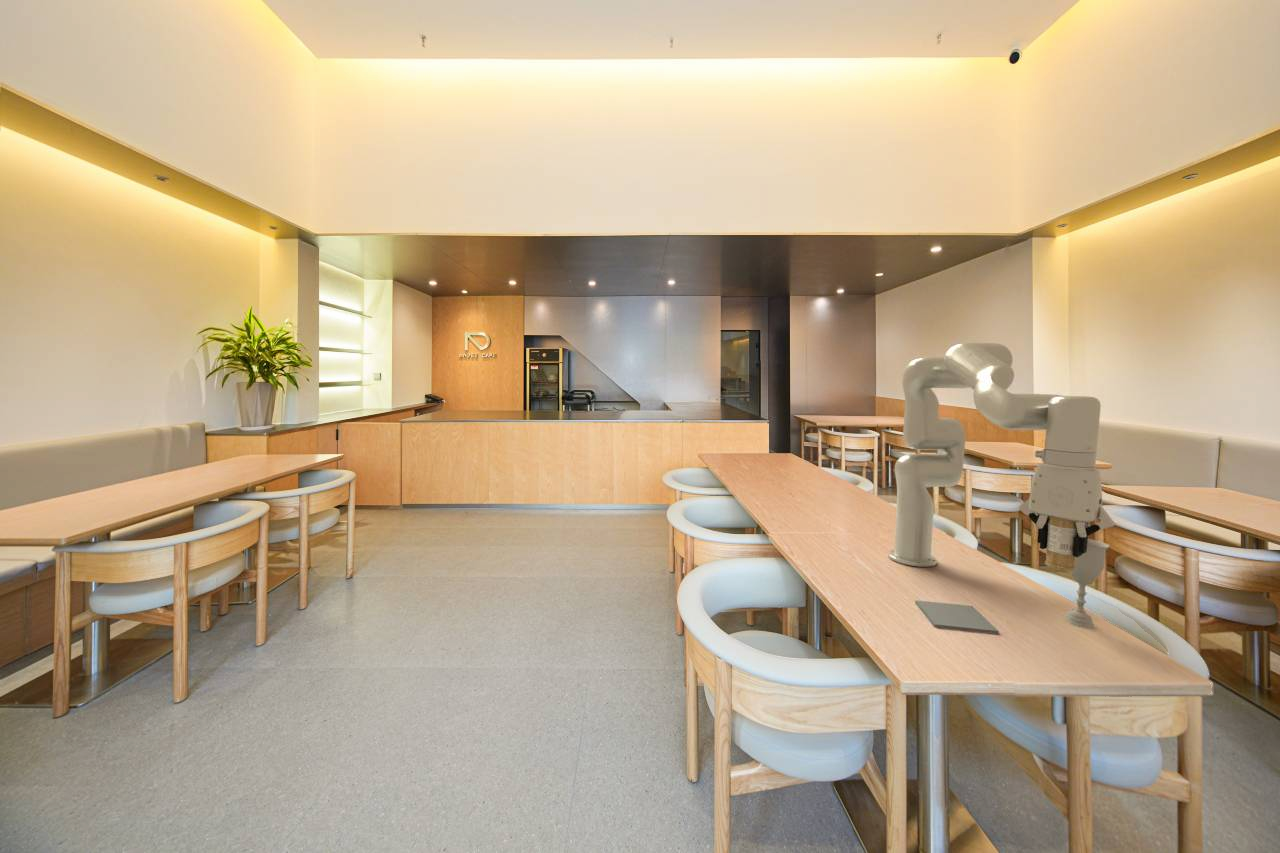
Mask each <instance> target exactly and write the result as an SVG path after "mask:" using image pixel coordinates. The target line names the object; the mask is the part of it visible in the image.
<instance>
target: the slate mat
mask: <svg viewBox="0 0 1280 853" xmlns="http://www.w3.org/2000/svg"><path fill="white" fill-rule="evenodd" d="M914 601H915V602H914V603H915V605H916V606H917V607H918V609H919V610H921V612H922V613H923V614H924V616H925V617H926V618H927V619H928V621H929V622H930V624H932V626H933V627H934V628H939V629H940V628H941V629H949V630H957V631H968V632H979V633H987V634H997V635H998V634H999V629H997V628H996V627H995V626H994V625H993V624H992V623H991V622H990V621H989V620H988V619H987V618H986V617H985V616H983V614H982V613H981V612H980V611H978V610H977V609H976V607H974V606H973V605H968V604H967V605H966V604H957V603H947V602H935V601H927V600H917V599H916V600H914Z"/></svg>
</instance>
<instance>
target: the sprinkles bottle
mask: <svg viewBox="0 0 1280 853" xmlns="http://www.w3.org/2000/svg"><path fill="white" fill-rule="evenodd" d="M1077 533H1078V531H1077V526H1076V521H1071V520H1066V519H1060V518H1055V517H1050V516H1049V524H1048V536H1047V548H1046V552H1045V555H1046V556H1045V561H1044V564H1045V565H1046V566H1047V567H1049V568H1053V569H1054V570H1055V569H1056V570H1060V571H1064V572H1065V571H1067V572H1069V571H1072V570H1074V569H1075V566H1074V563H1075V557H1074V556H1073V544H1074V537H1075V536H1077Z"/></svg>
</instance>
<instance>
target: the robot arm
mask: <svg viewBox="0 0 1280 853" xmlns="http://www.w3.org/2000/svg"><path fill="white" fill-rule="evenodd" d="M1012 365H1013V354H1012V352H1011V350H1010V349H1009V348H1008V347H1007V346H1006V345H1004V344H1001V343H998V342H962V343H958V344H955V345H953V346H951V347H950V348H949V349H948V350H947V351H946V353H945V354H944V356H936V357H935V356H929V357H928V356H925V357H920V358H916V359H913V360H912V361H910V362H909V363H908V364H907V365H906V367H905V368H904V371H903V374H902V389H903V394H904V401H905V402H904V416H903V431H902V435H903V436H902V437H903V438H902V440H903V443H904V445H905V447H907V448H908V449H912V450H923V451H936V452H937V454H936V453H934V454H932V453H931V454H930V453H911V454H905V455H902V456H900V457H899V458H898V459H897V460H896V462H895V464H894V475H895V482H896V510H895V527H894V528H895V529H894V530H895V531H894V546H893V547H894V548H893V549H891V550H889V551H888V553H887V555H888V558H889V559H891V560H893V561H894V562H897V563H899V564H901V565H902V564H903V565H907V566H912V567H921V568H922V567H923V568H924V567H925V568H927V567H928V568H929V567H934V566H936V565H937V564H938V561H937V560H938V559H937V558H936V557H935V556H933V555H932V544H933V543H932V542H933V541H932V540H933V528H934V526H933V524H934V509H935V503H934V499H933V497H932V495H931V494H930V492H929V491H928V489H927V488H932V487H933V488H934V487H935V488H936V487H937V488H938V487H940V488H945V487H946V488H948V487H954V486H956V485H957V484H959V482H960V481H961V479H962V476H963V470H964V460H965V448H966V432H965V428H964V426H963V425H962V423H961V422H960V421H959V420H957V419H955V418H952V417H940V416H939V409H940V403H939V399H938V396H937V395H936V393H935V392H934V390H933V389H934V388H935V389H967V388H968V389H969V388H971V389H972V390H973V394H972V395H973V402H974V406H975V408H976V410H977V411H978V412H979V413H980V414H981V415H982V416H983V417H984V418H986V419H987V420H988V421H989V422H990V423H992V424H993V425H995V426H997V427H998V428H1002V429H1004V430H1009V431H1010V430H1011V431H1012V430H1013V431H1045V440H1044V448H1043V449H1042V450H1036V451H1035V453H1034V456H1035V458H1039V459H1041V462H1042V463H1038V464H1037V466H1036V468H1035V471H1034V474H1033V479H1032V481H1031V482H1032V483H1031V488H1030V493H1029V497H1028V499H1027V500H1025V501H1024V502H1023V503H1022V504H1020V506H1019V510H1020V511H1021V512H1022V513H1023V514H1025V515H1026V516H1027V517H1028V518H1029V519H1030V520H1031V521H1032V522H1033V523H1034V524H1035V526H1036V528H1037V530H1038V531H1037V543H1038V544H1039V549H1041V550H1045V549H1046V550H1047V536H1048V524H1049V516H1050V517H1055V518H1060V519H1066V520H1071V521H1076V526H1077V536H1075V537H1074V544H1073V556H1074V557H1079V556H1081V555H1082V554H1083V553H1086V551H1087V541H1088V539H1089V536H1091V535H1092V534H1094V533H1096V532H1098V531H1101V530H1104V529H1109V528H1111V527H1113V526H1115V522H1114V520H1113V519H1112V518H1111V516H1110V515H1109V514H1108V512H1107V511H1106V510H1105V508H1104V507H1103V488H1102V478H1101V472H1100V469H1098V468H1096V460H1097V451H1098V450H1097V447H1098V439H1099V427H1100V419H1101V418H1100V417H1101V409H1102V408H1101V407H1102V405H1101V402H1100V400H1099V399H1098V398H1097V397H1095V396H1094V397H1093V396H1087V395H1086V396H1083V395H1061V394H1050V393H1049V394H1045V393H1043V394H1042V393H1011V392H1010V391H1008V389H1009V388H1010V387H1011V385H1012V383H1013V381H1014V378H1015V372H1014V369H1013V368H1012ZM1098 519H1099V522H1097V523H1094V524H1091V525H1090V523H1093V522H1094V521H1096V520H1098Z"/></svg>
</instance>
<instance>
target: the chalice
mask: <svg viewBox="0 0 1280 853" xmlns="http://www.w3.org/2000/svg"><path fill="white" fill-rule="evenodd" d="M1109 547H1110V545H1109V544H1108V543H1105V542H1103V541H1099V540H1096V539H1090V538H1088V541H1087V551H1086V553H1083V554H1082V555H1081V556H1079V557H1075V563H1074V566H1075V569H1074V570H1072V571H1068V572H1069V573H1070V576H1071V577H1072V579H1073V581H1074V582H1076V583H1078V588H1077V590H1076V593H1077V595H1078V596H1077V598H1075V601H1076V604H1077V605H1076V608H1074V609H1070V610H1069V611H1068V612H1067V613H1066V614H1065V616H1064V617H1063V620H1064V622H1067V623H1068V624H1070V625H1073V626H1076V627H1080V628H1084V629H1085V628H1086V629H1094V628H1096V626H1094V625H1095V624H1094V622H1093V619H1092V616H1091V614H1089V613H1088V612H1087V611H1086V610H1084V606H1085V604H1086V603H1087V600H1085V596H1086V595H1087V592H1086V586H1089V585H1092V584H1093V583H1094V582H1095V581H1096V579H1097V578H1099V576H1101V573H1102V572H1103V571H1104V568H1105V559H1106V551H1107V550H1108V549H1109Z"/></svg>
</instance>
